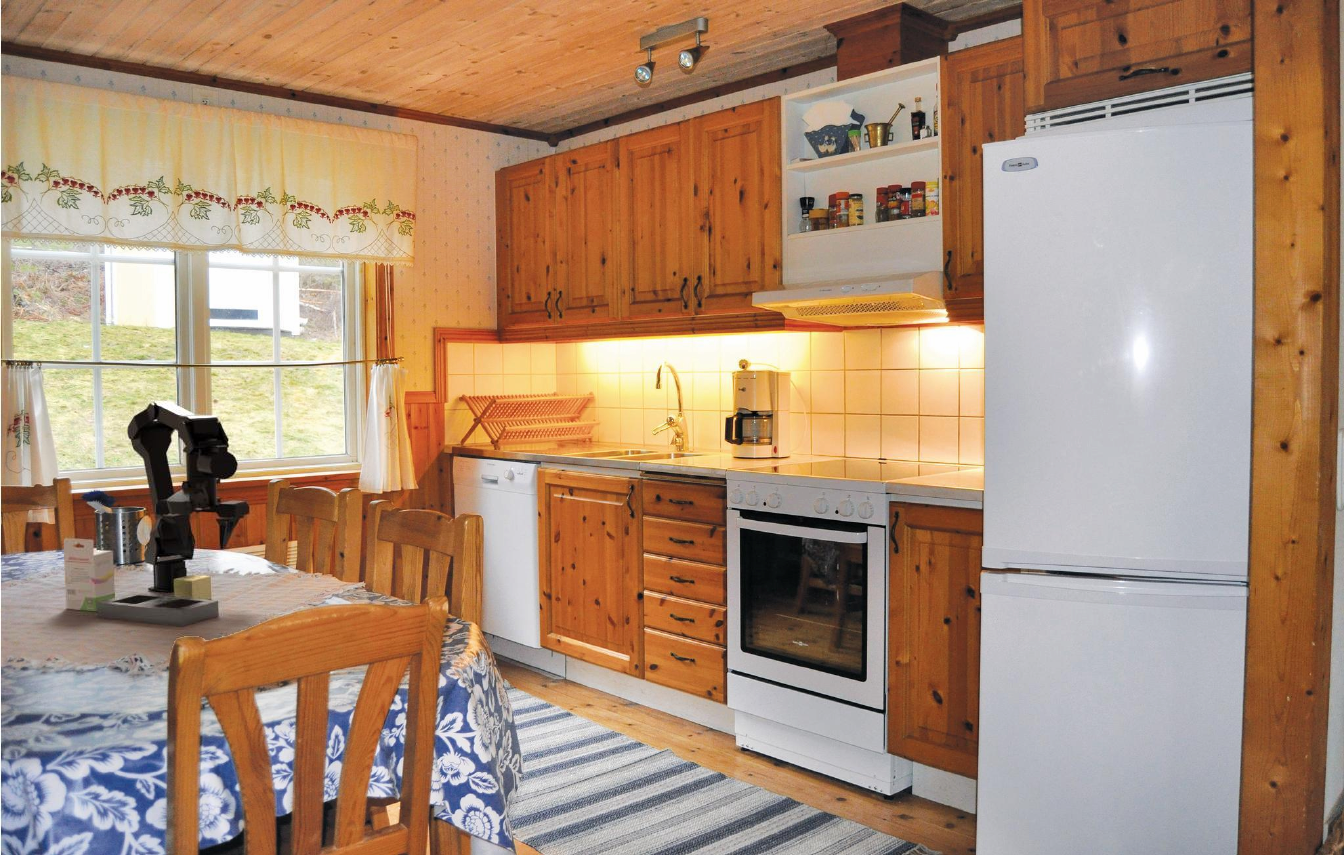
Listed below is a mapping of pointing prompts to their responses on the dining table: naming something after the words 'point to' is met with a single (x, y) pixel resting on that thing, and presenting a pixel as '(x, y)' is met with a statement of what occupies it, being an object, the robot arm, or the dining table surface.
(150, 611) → the grey flat block
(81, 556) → the ink box
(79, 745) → the dining table surface
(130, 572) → the dining table surface
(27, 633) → the dining table surface
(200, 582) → the natural wood cube
